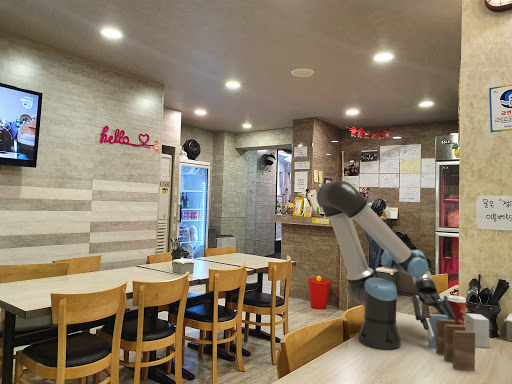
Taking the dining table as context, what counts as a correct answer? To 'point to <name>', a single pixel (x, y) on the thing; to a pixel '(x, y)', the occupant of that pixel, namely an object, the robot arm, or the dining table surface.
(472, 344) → the domino
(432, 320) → the blue domino
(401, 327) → the dining table surface
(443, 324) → the domino
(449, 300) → the paper cup
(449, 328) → the domino
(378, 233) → the robot arm
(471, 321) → the small box
